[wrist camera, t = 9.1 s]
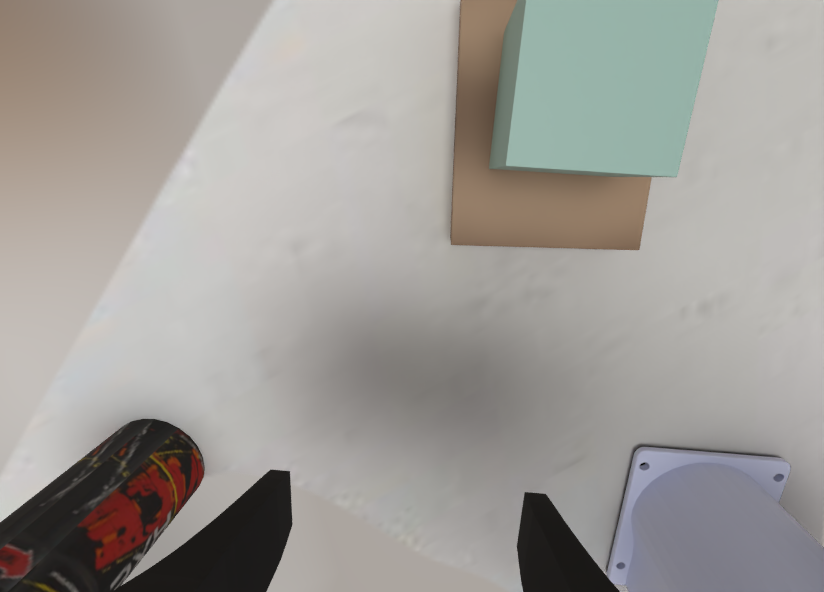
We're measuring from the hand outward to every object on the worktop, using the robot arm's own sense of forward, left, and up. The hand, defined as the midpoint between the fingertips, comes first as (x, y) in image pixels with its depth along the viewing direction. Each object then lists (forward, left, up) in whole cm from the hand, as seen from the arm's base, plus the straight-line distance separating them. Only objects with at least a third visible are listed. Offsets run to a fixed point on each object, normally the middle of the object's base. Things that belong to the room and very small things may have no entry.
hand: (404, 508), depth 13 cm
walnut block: (+12, -5, -11) cm, 17 cm away
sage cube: (+13, -5, -8) cm, 16 cm away
